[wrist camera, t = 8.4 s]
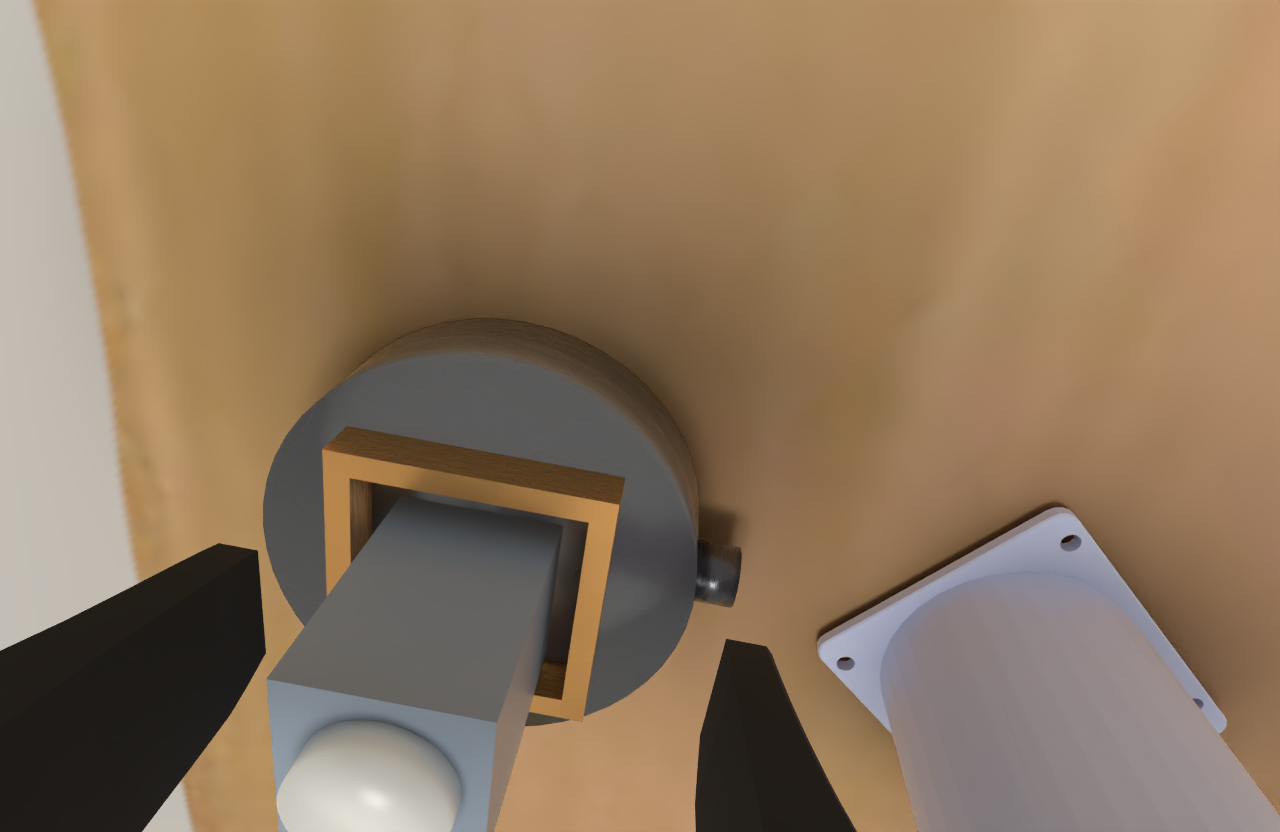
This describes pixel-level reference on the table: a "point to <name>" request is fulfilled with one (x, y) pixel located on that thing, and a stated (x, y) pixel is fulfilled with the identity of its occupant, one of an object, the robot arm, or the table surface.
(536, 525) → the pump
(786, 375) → the table surface
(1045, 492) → the table surface
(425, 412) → the grey disc square socket
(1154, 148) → the table surface
